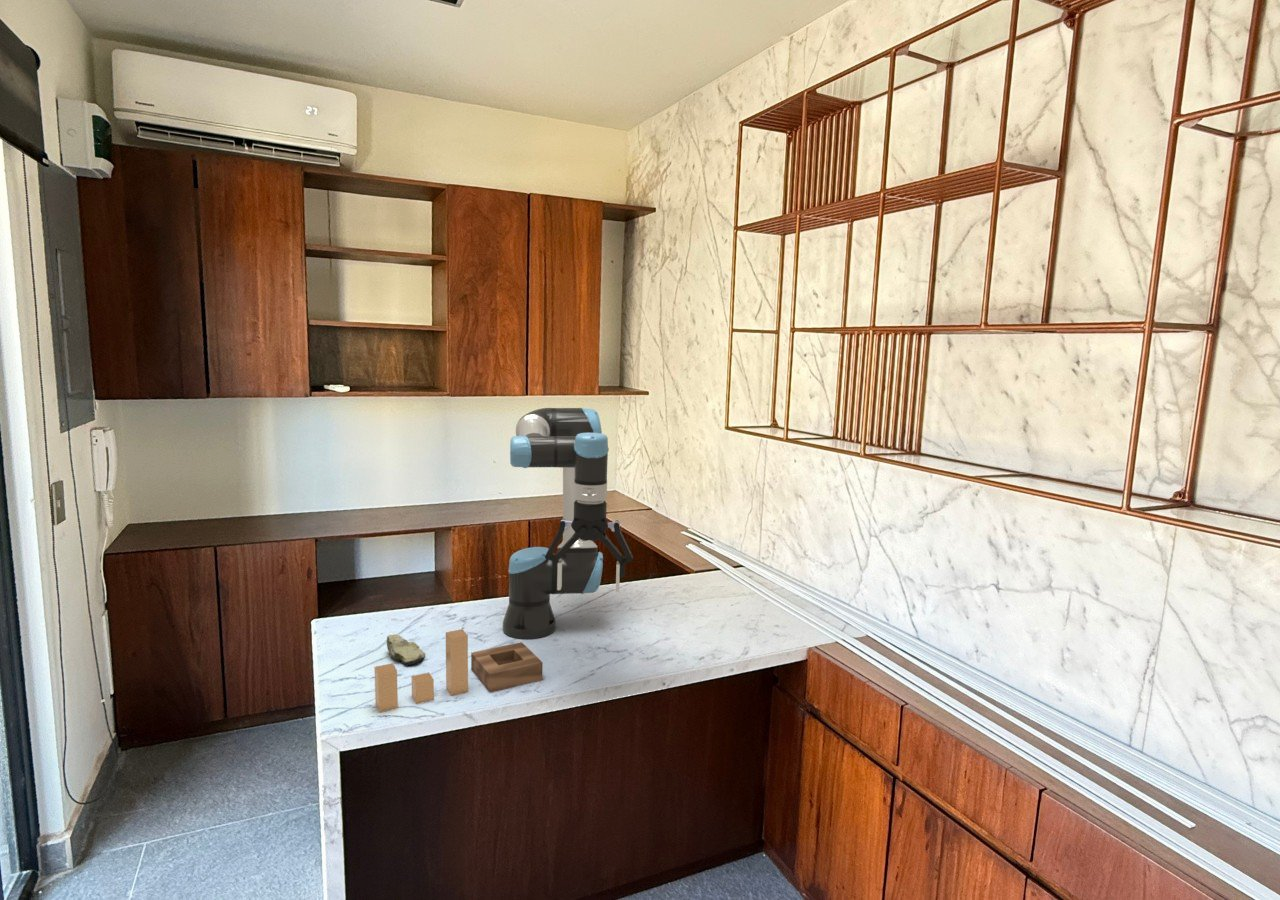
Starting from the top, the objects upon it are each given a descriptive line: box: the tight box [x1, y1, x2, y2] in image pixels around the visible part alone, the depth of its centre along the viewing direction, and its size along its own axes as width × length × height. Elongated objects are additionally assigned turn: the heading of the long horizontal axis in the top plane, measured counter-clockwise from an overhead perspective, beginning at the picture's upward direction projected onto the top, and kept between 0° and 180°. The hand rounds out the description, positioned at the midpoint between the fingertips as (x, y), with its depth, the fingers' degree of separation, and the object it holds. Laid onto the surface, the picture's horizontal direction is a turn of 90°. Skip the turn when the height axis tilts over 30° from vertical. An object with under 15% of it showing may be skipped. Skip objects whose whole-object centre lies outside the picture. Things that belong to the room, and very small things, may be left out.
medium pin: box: [373, 663, 399, 713], centre depth 155 cm, size 4×4×9 cm
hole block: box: [470, 641, 544, 693], centre depth 172 cm, size 14×14×4 cm
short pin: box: [411, 672, 435, 705], centre depth 159 cm, size 4×4×5 cm
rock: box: [386, 633, 426, 666], centre depth 179 cm, size 11×6×10 cm
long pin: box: [445, 628, 469, 697], centre depth 163 cm, size 4×4×14 cm
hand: (588, 589), depth 162 cm, fingers open, 13 cm apart
